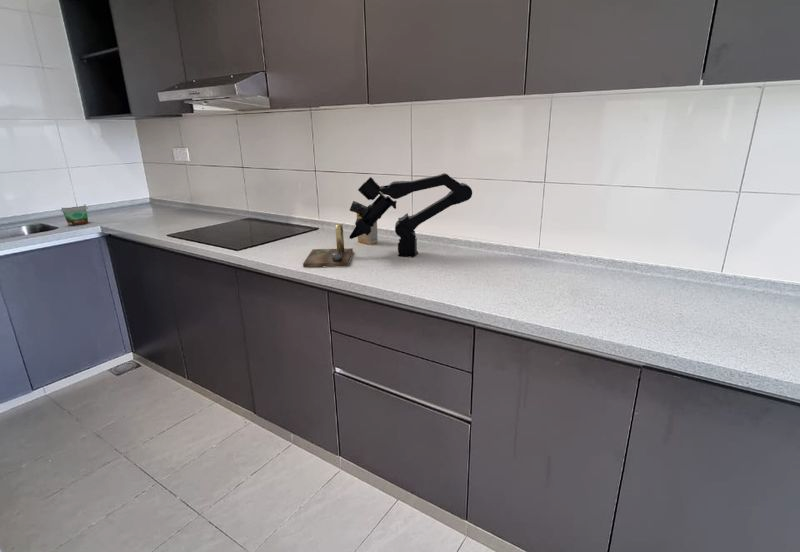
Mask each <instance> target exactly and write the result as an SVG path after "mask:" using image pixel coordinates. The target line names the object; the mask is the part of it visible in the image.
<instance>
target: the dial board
mask: <svg viewBox="0 0 800 552" xmlns="http://www.w3.org/2000/svg"><path fill="white" fill-rule="evenodd" d="M334 252H337V248H319V249H318V248H317V249H315V248H313V249H312V250H311V251H310V252H309V254H308V256H306V259H305V260H304V261H303V262H302V265H303V266H302V268H303V267H309V268H324V267H323V266H348V267H349V265H348V264H350V262H349V261H351V259H350V258H352V256H351V255H353V253H352V252H354V250H353V247H351V248H350V247H349V248H344V252H342V260H341V261H333V260H332V253H334Z"/></svg>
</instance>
